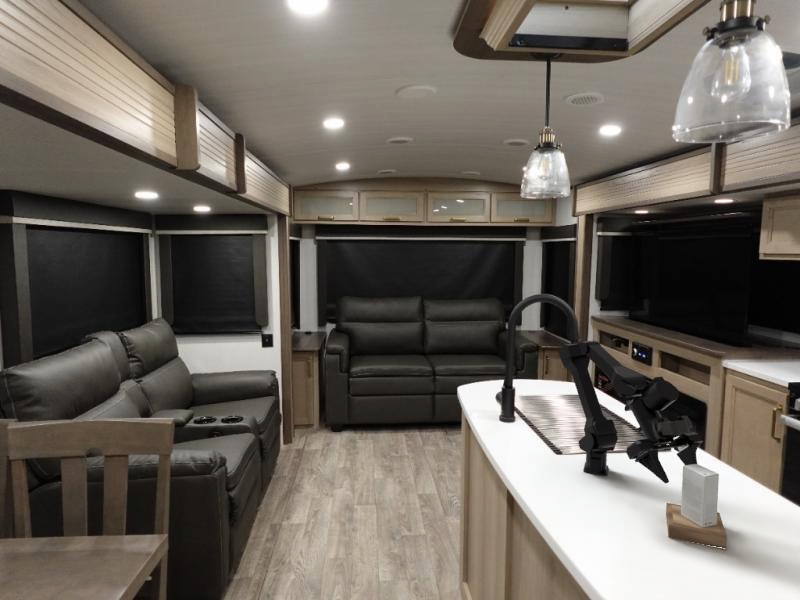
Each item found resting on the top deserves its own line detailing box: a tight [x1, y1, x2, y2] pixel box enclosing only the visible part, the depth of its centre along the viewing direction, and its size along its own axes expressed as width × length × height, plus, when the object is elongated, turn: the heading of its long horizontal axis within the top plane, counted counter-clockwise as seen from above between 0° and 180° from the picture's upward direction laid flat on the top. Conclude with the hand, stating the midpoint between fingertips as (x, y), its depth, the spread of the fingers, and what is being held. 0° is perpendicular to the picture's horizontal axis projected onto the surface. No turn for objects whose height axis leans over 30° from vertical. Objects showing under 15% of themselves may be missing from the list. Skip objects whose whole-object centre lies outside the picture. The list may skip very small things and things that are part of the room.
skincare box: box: [680, 463, 720, 528], centre depth 112 cm, size 6×4×12 cm
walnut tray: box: [665, 502, 728, 549], centre depth 113 cm, size 11×11×3 cm
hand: (682, 480), depth 116 cm, fingers open, 9 cm apart
